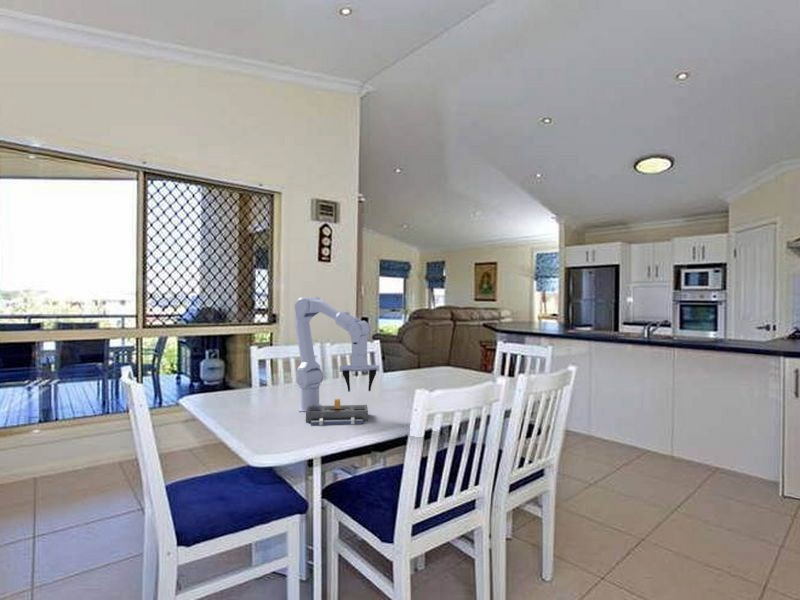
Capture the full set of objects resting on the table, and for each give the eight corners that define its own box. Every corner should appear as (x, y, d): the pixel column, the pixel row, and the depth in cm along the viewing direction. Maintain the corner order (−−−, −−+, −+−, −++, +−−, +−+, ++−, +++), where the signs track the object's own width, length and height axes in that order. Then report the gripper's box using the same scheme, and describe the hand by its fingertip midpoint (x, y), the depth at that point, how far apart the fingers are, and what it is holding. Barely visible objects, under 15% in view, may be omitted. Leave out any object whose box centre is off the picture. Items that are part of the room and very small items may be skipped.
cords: (311, 422, 168) (311, 417, 168) (362, 421, 170) (362, 416, 169) (310, 425, 164) (310, 420, 164) (362, 424, 166) (362, 419, 166)
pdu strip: (308, 415, 176) (308, 405, 176) (366, 414, 179) (367, 404, 179) (305, 422, 168) (305, 412, 167) (367, 420, 170) (368, 410, 170)
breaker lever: (334, 407, 174) (334, 398, 174) (340, 406, 174) (340, 398, 174) (334, 408, 172) (334, 400, 172) (340, 408, 172) (340, 400, 172)
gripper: (339, 355, 169) (339, 393, 169) (379, 355, 170) (379, 392, 171) (339, 353, 176) (339, 389, 176) (378, 352, 177) (378, 388, 178)
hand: (359, 390), depth 174 cm, fingers open, 7 cm apart
